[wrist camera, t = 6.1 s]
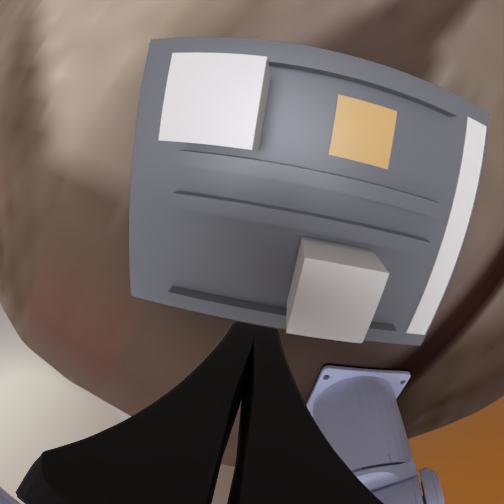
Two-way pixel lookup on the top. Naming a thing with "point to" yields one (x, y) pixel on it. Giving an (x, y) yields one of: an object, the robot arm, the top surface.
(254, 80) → the tab
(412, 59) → the top surface
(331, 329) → the tab
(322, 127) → the switch board
